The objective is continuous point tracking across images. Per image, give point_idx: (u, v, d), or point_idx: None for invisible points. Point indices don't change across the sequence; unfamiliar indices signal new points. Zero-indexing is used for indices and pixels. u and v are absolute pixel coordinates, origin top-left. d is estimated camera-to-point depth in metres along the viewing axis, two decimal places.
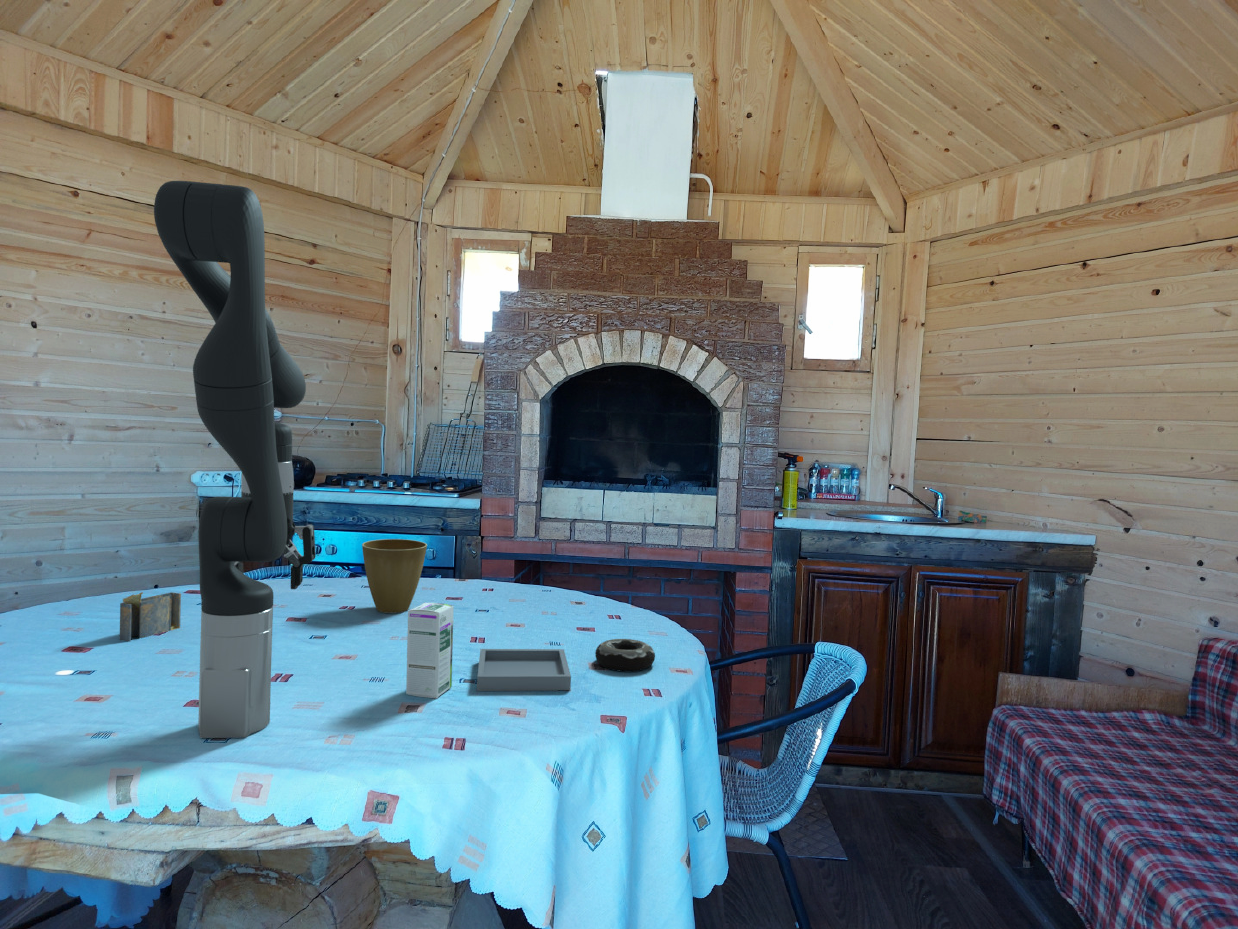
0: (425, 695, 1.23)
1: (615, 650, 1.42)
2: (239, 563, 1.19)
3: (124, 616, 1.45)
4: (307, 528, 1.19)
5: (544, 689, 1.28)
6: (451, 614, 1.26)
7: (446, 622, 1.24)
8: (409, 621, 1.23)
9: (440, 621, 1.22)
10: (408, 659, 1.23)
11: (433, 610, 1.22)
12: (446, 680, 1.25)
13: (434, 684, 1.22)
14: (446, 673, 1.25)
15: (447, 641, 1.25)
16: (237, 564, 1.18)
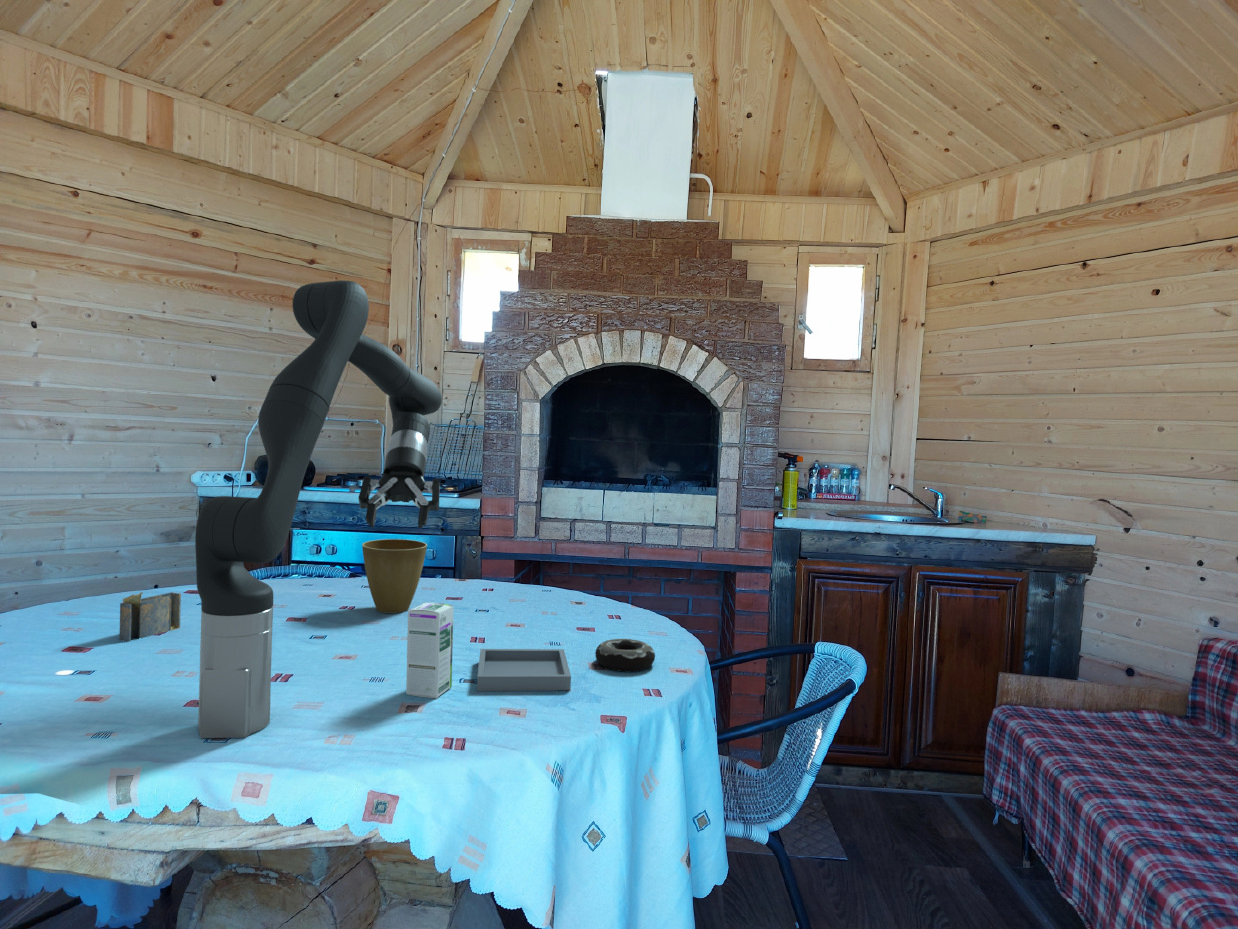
0: (425, 695, 1.23)
1: (615, 650, 1.42)
2: None
3: (124, 616, 1.45)
4: (437, 479, 1.41)
5: (544, 689, 1.28)
6: (451, 614, 1.26)
7: (446, 622, 1.24)
8: (409, 621, 1.23)
9: (440, 621, 1.22)
10: (408, 659, 1.23)
11: (433, 610, 1.22)
12: (446, 680, 1.25)
13: (434, 684, 1.22)
14: (446, 673, 1.25)
15: (447, 641, 1.25)
16: (374, 504, 1.35)
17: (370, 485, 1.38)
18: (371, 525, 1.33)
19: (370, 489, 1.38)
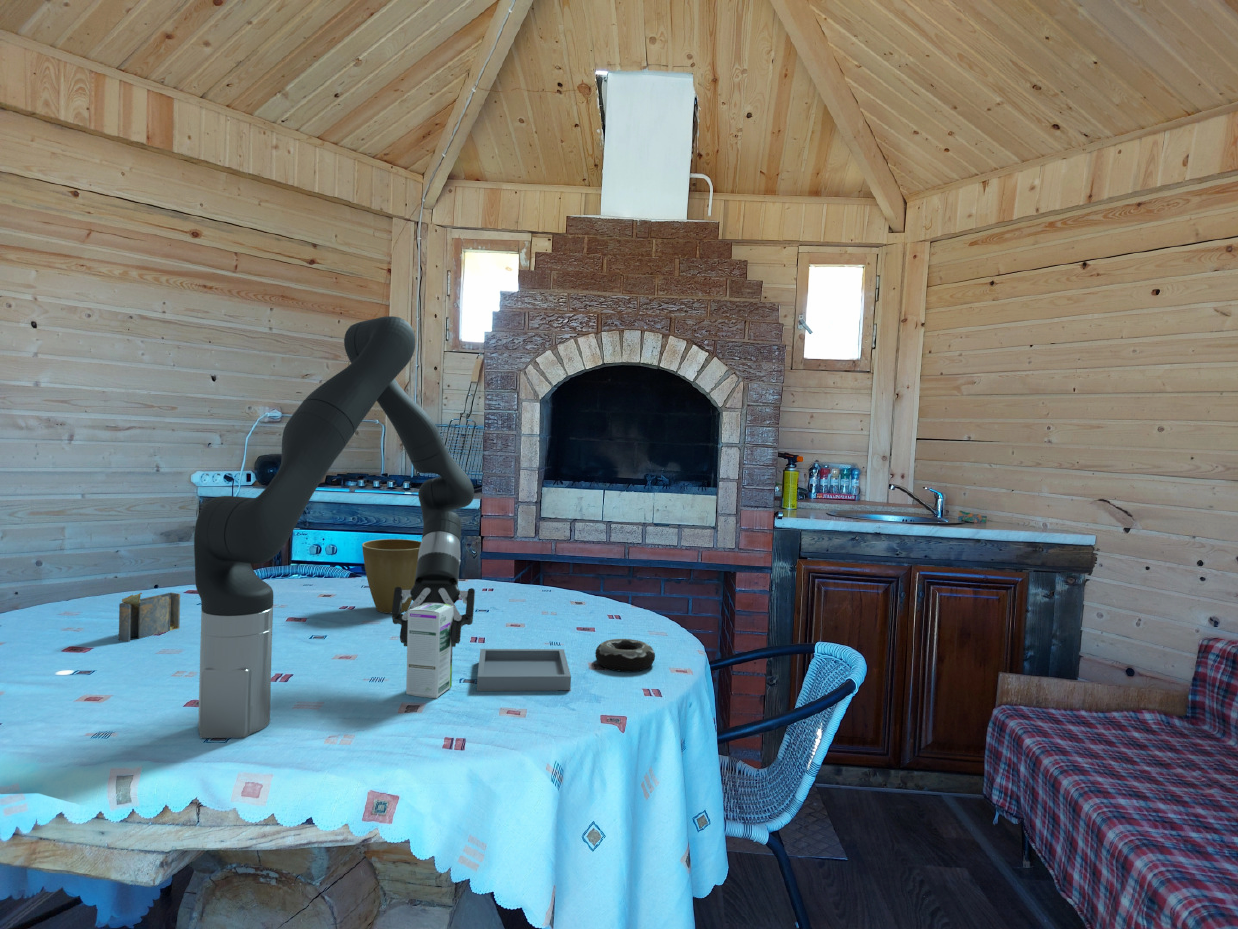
0: (425, 695, 1.23)
1: (615, 650, 1.42)
2: None
3: (123, 616, 1.44)
4: (472, 589, 1.31)
5: (544, 689, 1.28)
6: (451, 614, 1.26)
7: (446, 622, 1.24)
8: (409, 621, 1.23)
9: (440, 621, 1.22)
10: (408, 659, 1.23)
11: (433, 610, 1.22)
12: (446, 680, 1.25)
13: (434, 684, 1.22)
14: (446, 673, 1.25)
15: (447, 641, 1.25)
16: None
17: (402, 597, 1.29)
18: (405, 645, 1.24)
19: (402, 601, 1.29)
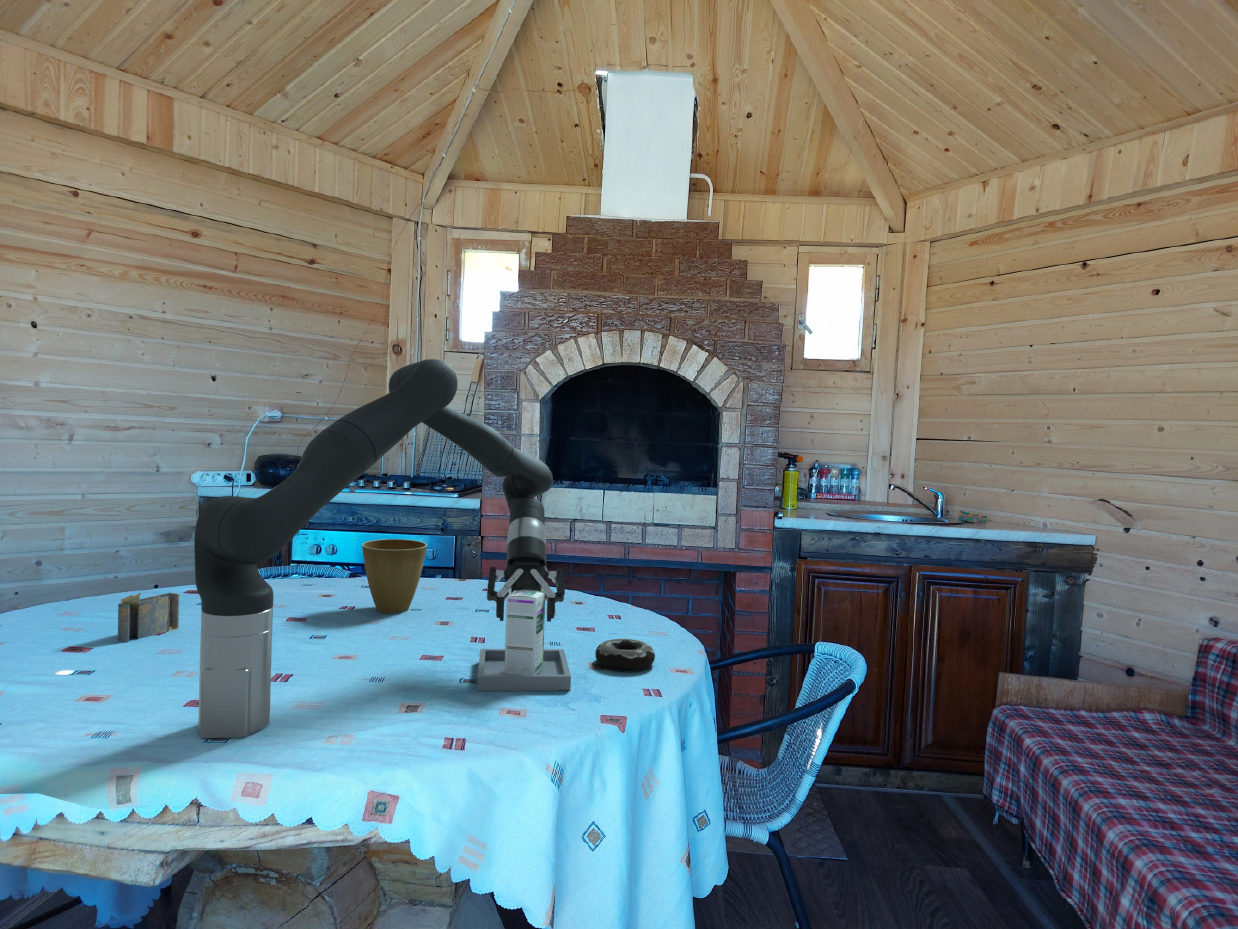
0: (522, 674, 1.33)
1: (615, 650, 1.42)
2: None
3: (122, 617, 1.44)
4: (560, 569, 1.41)
5: (544, 689, 1.28)
6: (543, 600, 1.36)
7: (540, 607, 1.34)
8: (508, 606, 1.33)
9: (537, 606, 1.33)
10: (506, 641, 1.33)
11: (530, 596, 1.33)
12: (540, 661, 1.35)
13: (531, 664, 1.32)
14: (540, 655, 1.35)
15: (541, 625, 1.35)
16: (502, 597, 1.35)
17: (496, 576, 1.38)
18: (501, 619, 1.34)
19: (496, 580, 1.39)
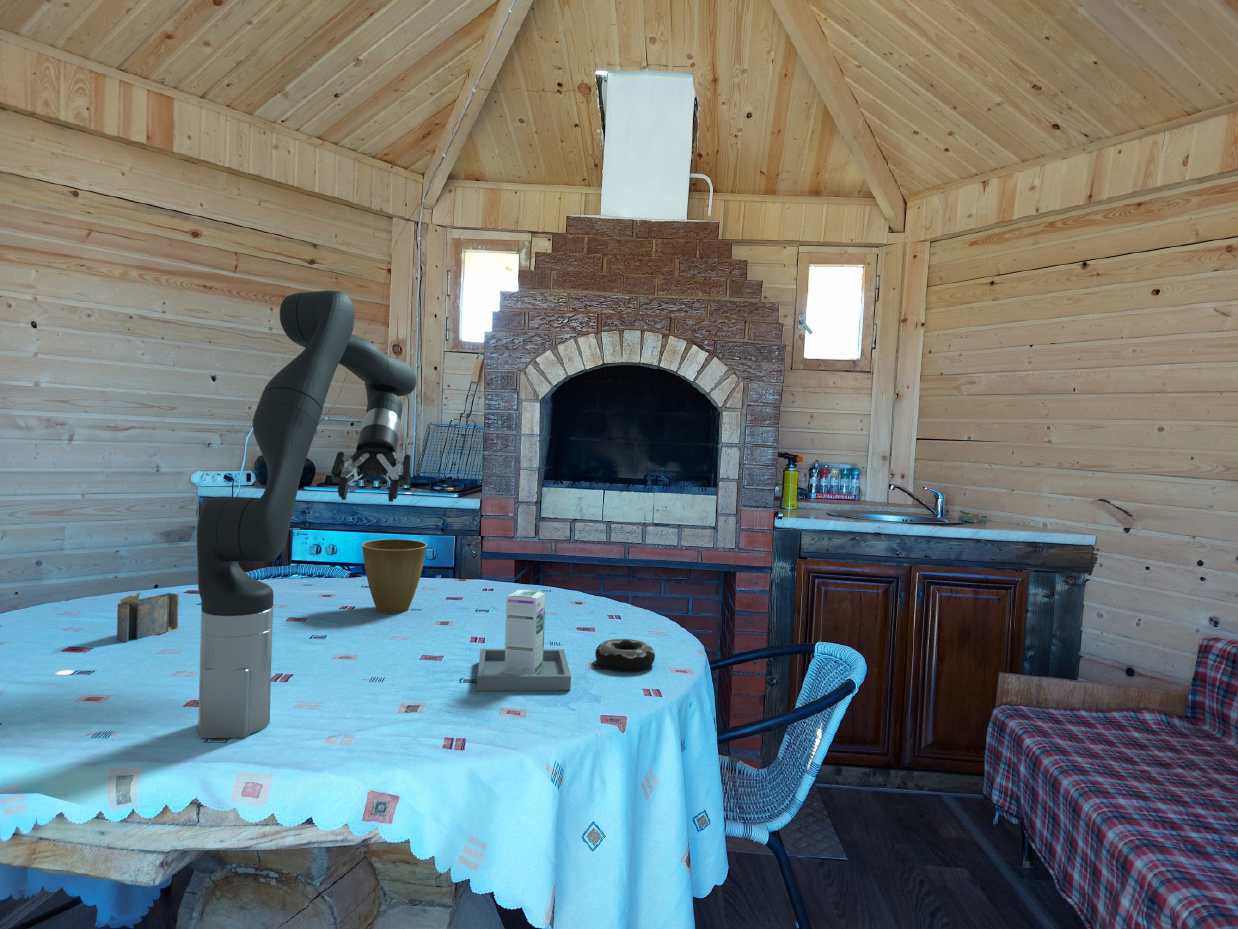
0: None
1: (615, 650, 1.42)
2: None
3: (121, 617, 1.44)
4: (408, 455, 1.45)
5: (544, 689, 1.28)
6: (543, 600, 1.36)
7: (540, 607, 1.34)
8: (508, 606, 1.33)
9: (537, 606, 1.32)
10: (506, 641, 1.33)
11: (530, 596, 1.33)
12: (540, 661, 1.35)
13: (531, 664, 1.32)
14: (540, 655, 1.35)
15: (541, 625, 1.35)
16: None
17: (343, 460, 1.43)
18: (343, 498, 1.38)
19: (343, 464, 1.43)
